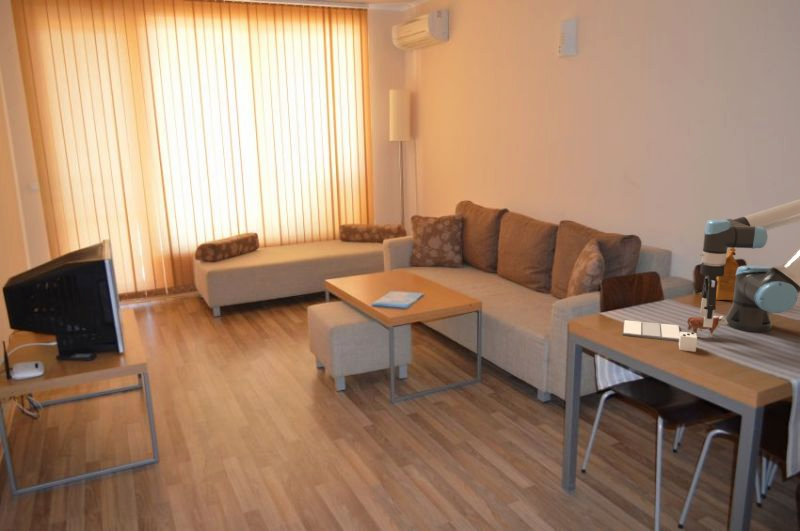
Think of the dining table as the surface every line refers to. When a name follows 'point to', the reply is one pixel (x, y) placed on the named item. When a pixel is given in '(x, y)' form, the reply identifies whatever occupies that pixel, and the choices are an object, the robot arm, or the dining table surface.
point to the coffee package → (727, 278)
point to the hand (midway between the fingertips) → (705, 321)
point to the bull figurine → (699, 322)
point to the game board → (651, 330)
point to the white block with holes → (687, 341)
